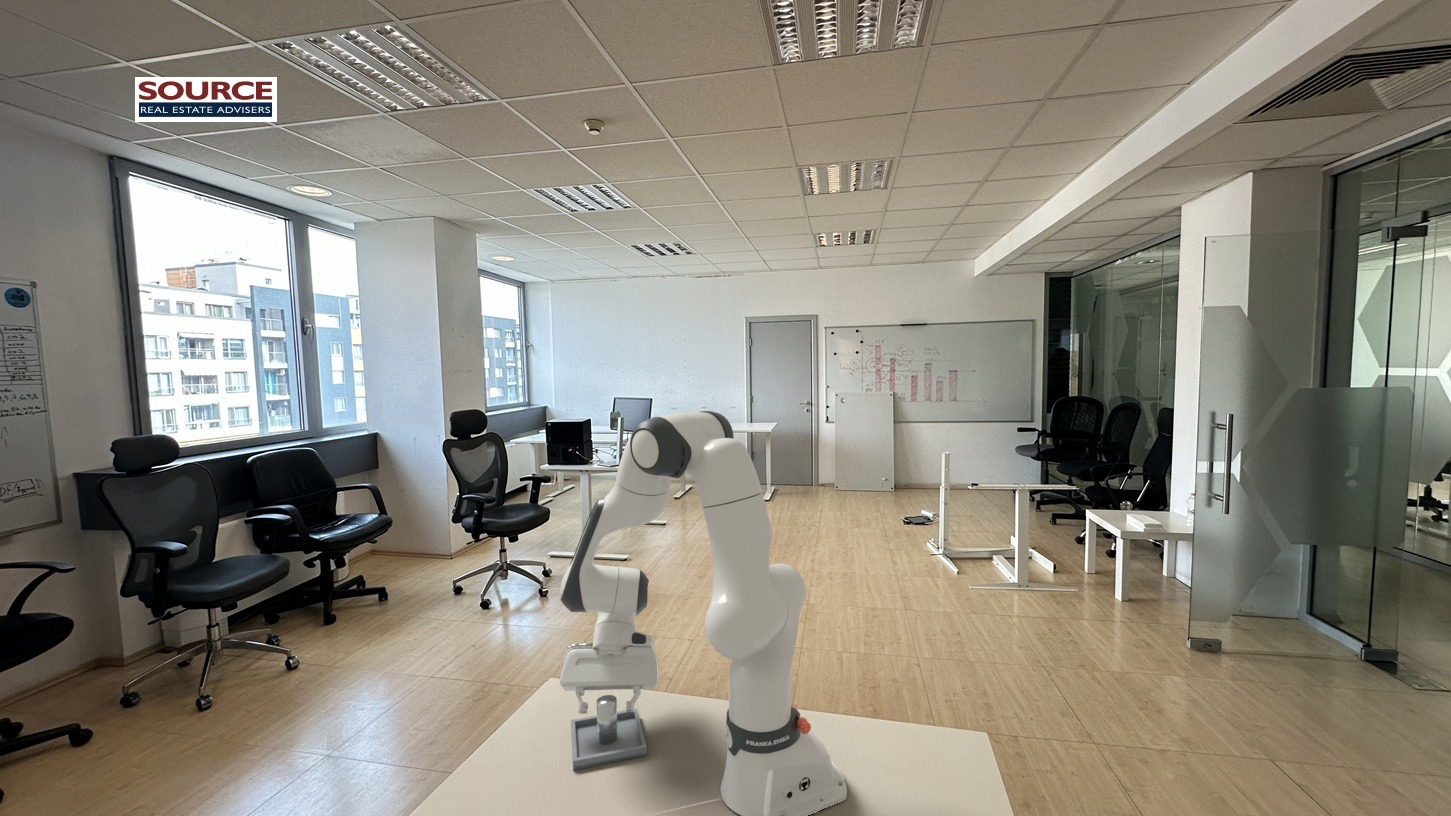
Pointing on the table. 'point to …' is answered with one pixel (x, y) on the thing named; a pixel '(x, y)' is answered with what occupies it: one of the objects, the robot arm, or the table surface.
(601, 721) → the glossy grey cylinder
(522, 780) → the table surface
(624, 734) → the parts tray
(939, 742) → the table surface
